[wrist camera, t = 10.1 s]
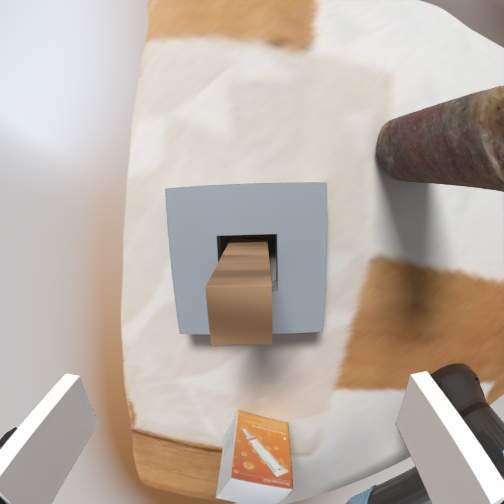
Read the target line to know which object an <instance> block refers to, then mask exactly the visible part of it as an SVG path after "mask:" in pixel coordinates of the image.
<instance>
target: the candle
mask: <svg viewBox="0 0 504 504" xmlns="http://www.w3.org/2000/svg"><path fill="white" fill-rule="evenodd" d="M376 151H377V155H378V158H379V161H380V163H381V164H382V166H383V167H384V168H385V169H386V171H387V172H388V173H389V174H390V175H391V176H393V177H394V178H396V179H398V180H403V181H410V182H422V183H435V184H446V185H457V186H467V187H476V188H483V189H490V190H498V191H503V192H504V86H498V87H495V88H492V89H488V90H484V91H480V92H476V93H472V94H469V95H466V96H463V97H460V98H457V99H454V100H450V101H447V102H444V103H441V104H438V105H435V106H432V107H429V108H425V109H423V110H420V111H416V112H413V113H410V114H407V115H404V116H401V117H398V118H396V119H393V120H390V121H388V122H387V123H386V124H385V125H384V126H383V127H382V129H381V131H380V133H379V136H378V139H377V144H376Z"/></svg>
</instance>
